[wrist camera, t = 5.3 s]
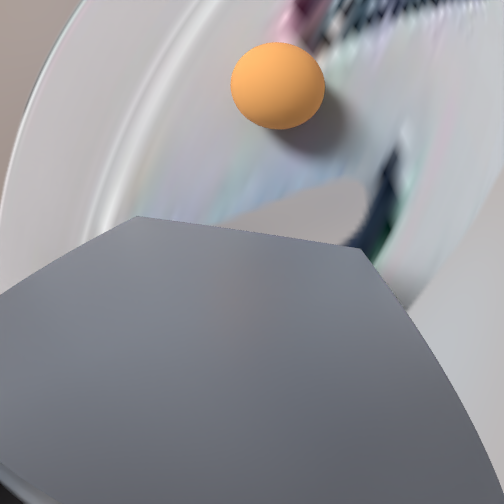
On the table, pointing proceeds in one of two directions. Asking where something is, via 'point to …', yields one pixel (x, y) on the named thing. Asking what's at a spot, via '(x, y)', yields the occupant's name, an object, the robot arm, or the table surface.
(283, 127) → the ball
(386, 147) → the table surface
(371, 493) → the grey cube
